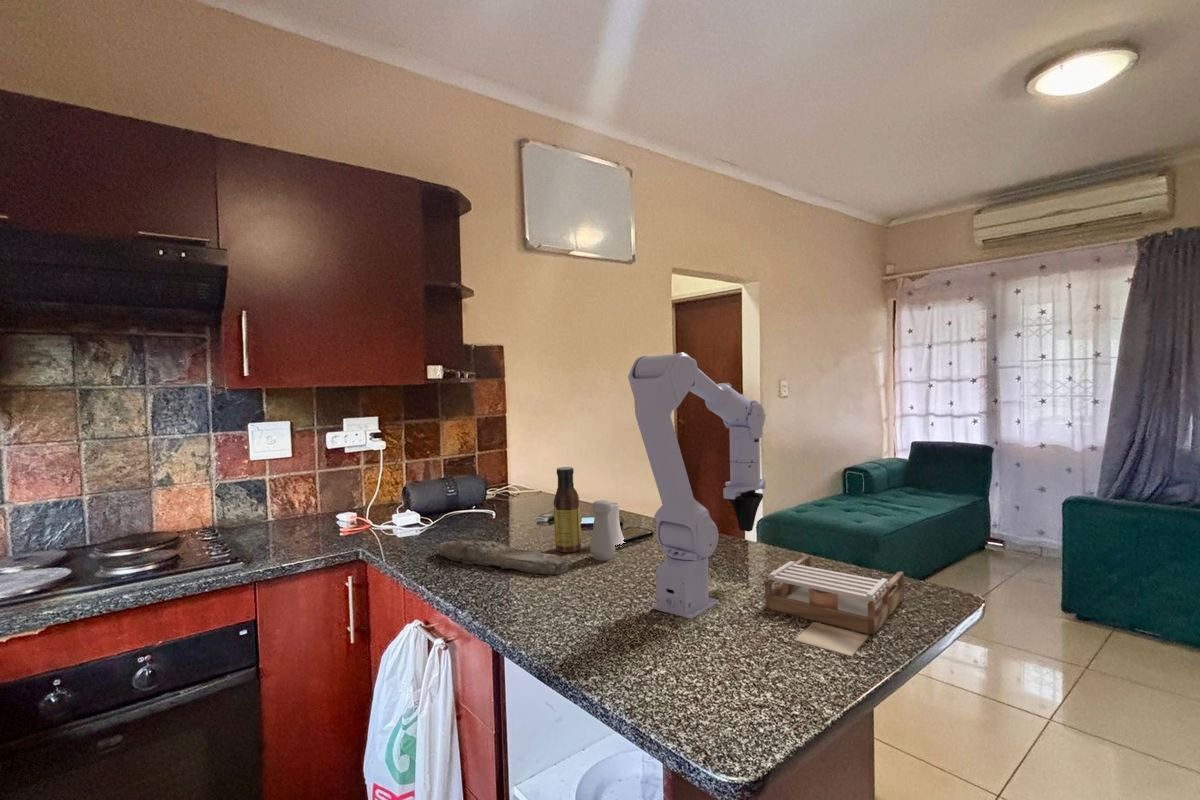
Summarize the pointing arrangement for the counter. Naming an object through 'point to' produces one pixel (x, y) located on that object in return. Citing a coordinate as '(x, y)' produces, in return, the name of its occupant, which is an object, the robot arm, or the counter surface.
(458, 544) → the long grey stone
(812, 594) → the pot
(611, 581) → the counter surface
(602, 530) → the salt shaker
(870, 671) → the counter surface
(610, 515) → the vase
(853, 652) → the mat
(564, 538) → the sauce bottle
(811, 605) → the box
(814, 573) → the cover
